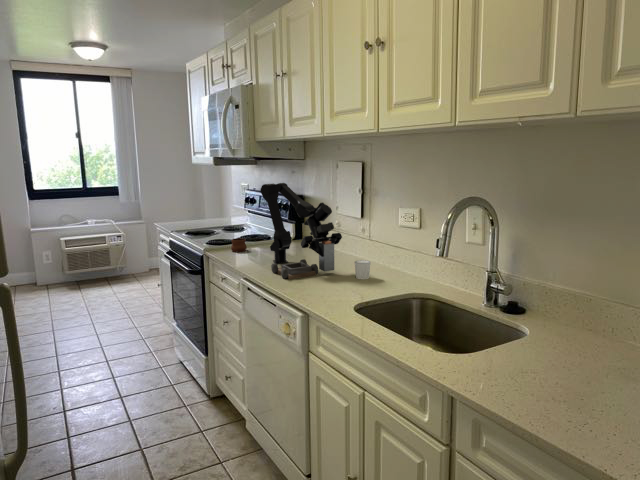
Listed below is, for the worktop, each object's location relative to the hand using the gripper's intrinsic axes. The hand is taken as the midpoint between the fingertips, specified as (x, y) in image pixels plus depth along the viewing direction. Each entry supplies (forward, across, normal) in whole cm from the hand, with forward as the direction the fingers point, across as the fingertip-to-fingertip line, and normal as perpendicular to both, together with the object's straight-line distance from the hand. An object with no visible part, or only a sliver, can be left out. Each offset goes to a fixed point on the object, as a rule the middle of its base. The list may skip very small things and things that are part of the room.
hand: (328, 255), depth 206 cm
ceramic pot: (-44, -17, +58) cm, 74 cm away
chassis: (-1, -12, +13) cm, 18 cm away
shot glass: (+15, +10, -3) cm, 18 cm away
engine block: (+4, 0, +6) cm, 7 cm away
